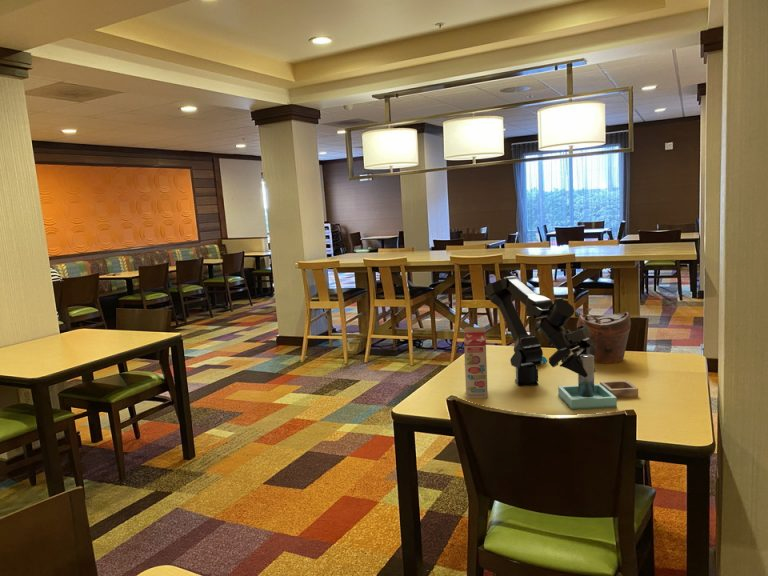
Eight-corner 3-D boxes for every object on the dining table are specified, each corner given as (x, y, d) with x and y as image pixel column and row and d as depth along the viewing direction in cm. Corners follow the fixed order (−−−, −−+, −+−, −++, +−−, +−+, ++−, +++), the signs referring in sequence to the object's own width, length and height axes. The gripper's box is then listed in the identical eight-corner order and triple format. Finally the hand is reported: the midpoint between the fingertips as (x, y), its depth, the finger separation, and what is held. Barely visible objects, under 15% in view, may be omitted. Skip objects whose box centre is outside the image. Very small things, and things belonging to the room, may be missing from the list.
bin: (571, 410, 170) (571, 400, 170) (558, 395, 183) (558, 386, 183) (616, 407, 170) (616, 397, 170) (600, 393, 183) (600, 384, 183)
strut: (578, 397, 175) (578, 358, 173) (577, 392, 179) (577, 354, 178) (594, 397, 174) (594, 358, 172) (593, 392, 178) (593, 354, 177)
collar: (610, 398, 179) (610, 390, 178) (599, 389, 187) (599, 381, 187) (638, 396, 178) (638, 388, 178) (626, 388, 187) (626, 380, 187)
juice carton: (466, 391, 193) (464, 325, 190) (487, 391, 192) (485, 325, 189) (466, 397, 186) (463, 329, 183) (487, 397, 185) (485, 329, 182)
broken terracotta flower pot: (566, 357, 226) (566, 311, 223) (606, 350, 233) (607, 306, 231) (599, 369, 210) (600, 319, 207) (642, 361, 217) (643, 313, 214)
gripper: (557, 322, 170) (594, 366, 163) (587, 312, 183) (622, 351, 176) (533, 346, 176) (568, 388, 170) (564, 334, 189) (597, 372, 183)
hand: (590, 374), depth 175 cm, fingers closed on strut, 4 cm apart
